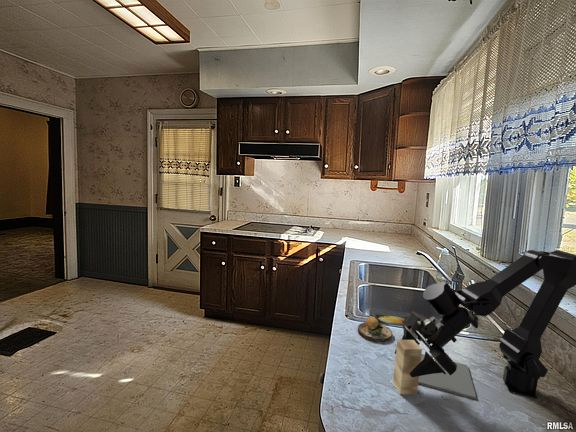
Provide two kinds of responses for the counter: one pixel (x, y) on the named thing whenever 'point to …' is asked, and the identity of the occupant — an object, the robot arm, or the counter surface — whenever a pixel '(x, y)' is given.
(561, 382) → the counter surface
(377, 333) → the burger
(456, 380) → the mat
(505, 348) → the robot arm
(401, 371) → the block
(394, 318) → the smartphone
